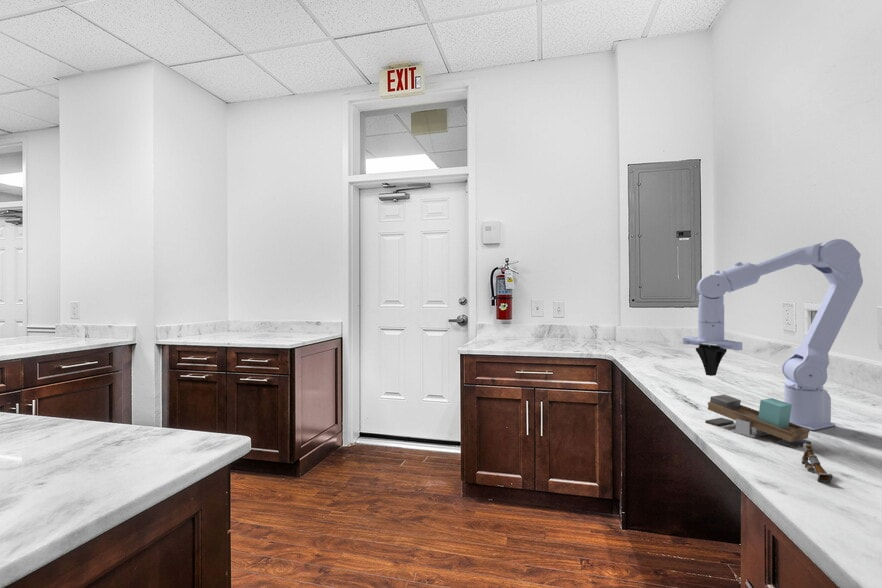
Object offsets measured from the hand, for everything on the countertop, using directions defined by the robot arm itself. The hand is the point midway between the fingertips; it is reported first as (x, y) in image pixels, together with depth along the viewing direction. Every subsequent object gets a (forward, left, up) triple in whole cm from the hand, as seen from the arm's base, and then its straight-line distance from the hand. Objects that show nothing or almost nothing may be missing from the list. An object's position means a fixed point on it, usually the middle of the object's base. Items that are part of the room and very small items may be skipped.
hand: (710, 375), depth 113 cm
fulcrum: (+4, +13, -10) cm, 17 cm away
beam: (+4, +13, -8) cm, 16 cm away
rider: (+4, +17, -8) cm, 19 cm away
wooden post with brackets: (+18, +31, -11) cm, 38 cm away
